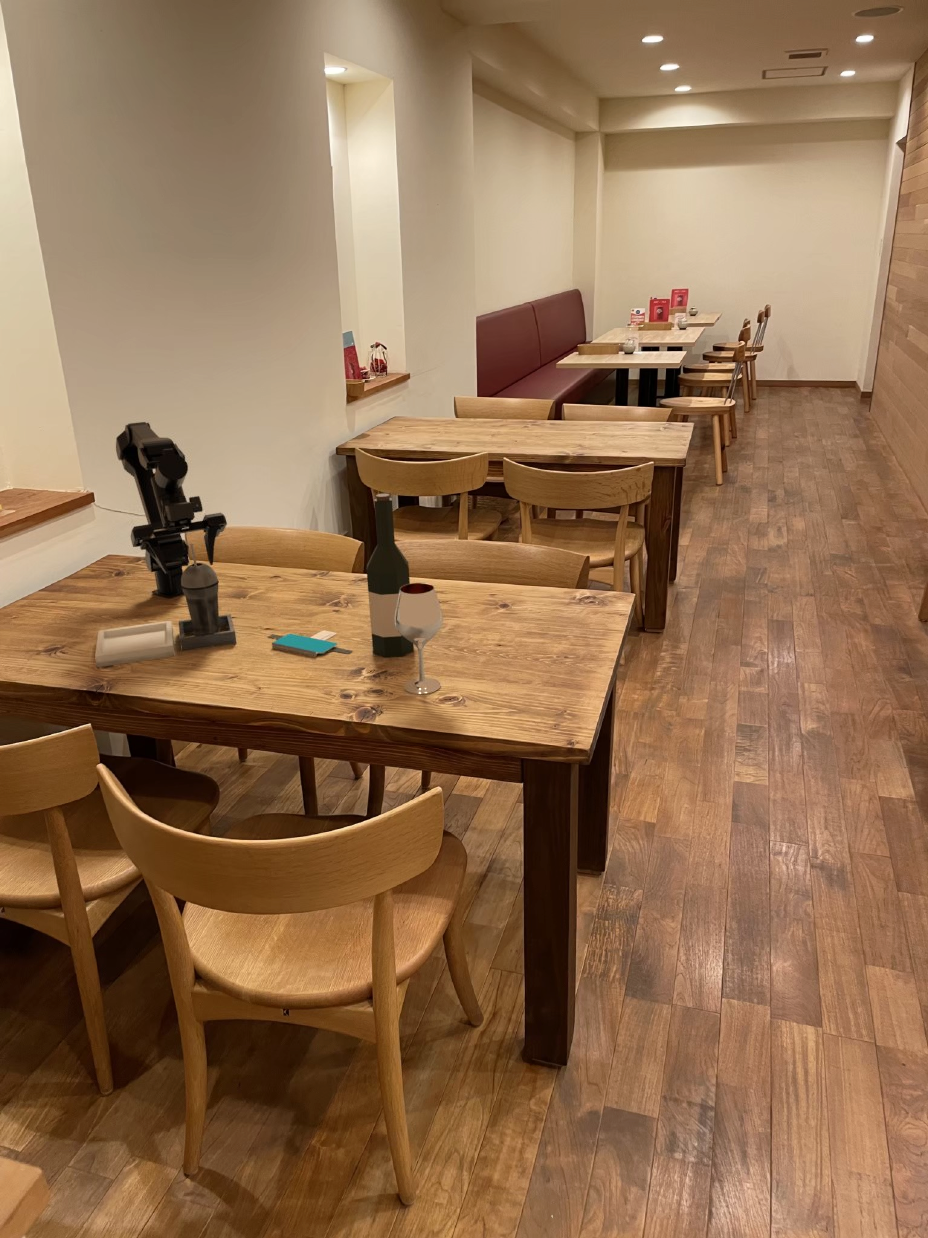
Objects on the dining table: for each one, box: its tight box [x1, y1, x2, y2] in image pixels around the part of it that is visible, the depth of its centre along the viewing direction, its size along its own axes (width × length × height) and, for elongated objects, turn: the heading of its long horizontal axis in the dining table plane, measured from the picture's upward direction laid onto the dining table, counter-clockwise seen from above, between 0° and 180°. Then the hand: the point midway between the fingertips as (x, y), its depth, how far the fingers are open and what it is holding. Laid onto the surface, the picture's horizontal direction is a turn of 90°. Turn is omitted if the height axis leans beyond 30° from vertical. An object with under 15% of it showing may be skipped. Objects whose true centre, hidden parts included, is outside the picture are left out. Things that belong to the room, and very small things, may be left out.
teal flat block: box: [267, 629, 353, 658], centre depth 176 cm, size 20×12×2 cm, turn 60°
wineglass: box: [394, 582, 444, 695], centre depth 152 cm, size 8×8×18 cm
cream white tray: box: [94, 620, 175, 668], centre depth 176 cm, size 14×14×2 cm
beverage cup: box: [181, 542, 220, 636], centre depth 177 cm, size 7×7×20 cm
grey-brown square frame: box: [178, 613, 237, 652], centre depth 180 cm, size 10×10×2 cm
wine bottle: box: [366, 493, 415, 659], centre depth 166 cm, size 8×8×30 cm
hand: (189, 568), depth 185 cm, fingers open, 9 cm apart
